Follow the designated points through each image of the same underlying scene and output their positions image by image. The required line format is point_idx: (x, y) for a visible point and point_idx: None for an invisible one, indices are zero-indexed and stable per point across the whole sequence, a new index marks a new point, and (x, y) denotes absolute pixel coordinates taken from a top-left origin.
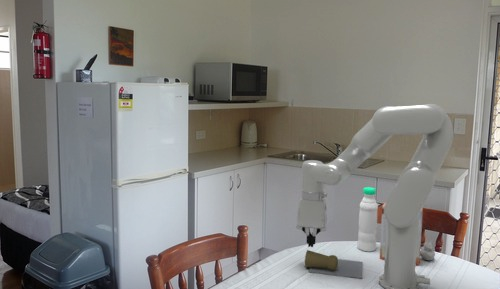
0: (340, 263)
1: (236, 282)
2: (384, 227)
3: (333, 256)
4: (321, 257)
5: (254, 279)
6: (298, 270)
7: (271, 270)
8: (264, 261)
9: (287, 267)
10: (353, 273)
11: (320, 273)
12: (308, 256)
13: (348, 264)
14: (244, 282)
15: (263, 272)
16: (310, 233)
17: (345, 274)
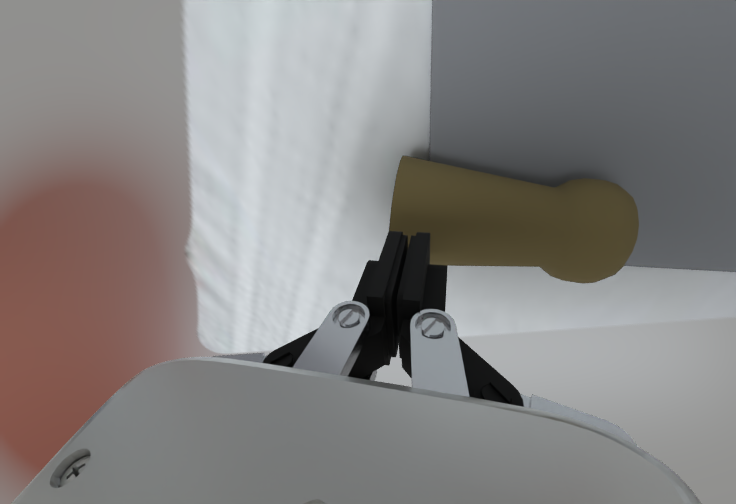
0: (668, 78)
1: (230, 344)
2: None
3: (600, 271)
4: (499, 264)
5: (260, 327)
6: (375, 241)
7: (272, 263)
8: (199, 186)
9: (318, 222)
10: (713, 229)
11: None
12: None
13: None
14: (247, 343)
15: (256, 282)
16: (383, 342)
17: (642, 251)
